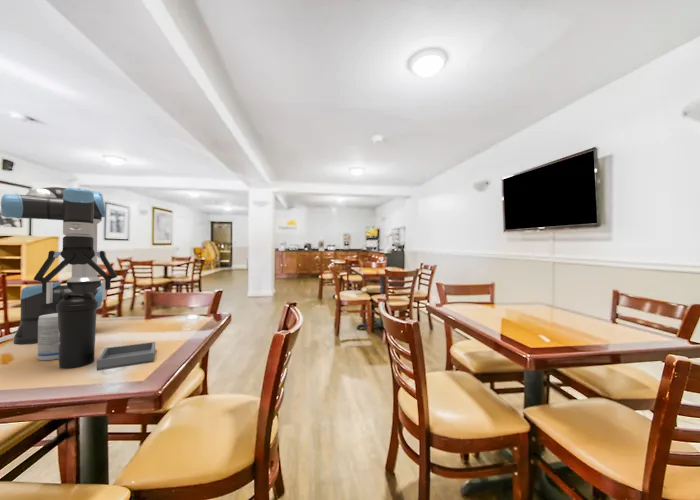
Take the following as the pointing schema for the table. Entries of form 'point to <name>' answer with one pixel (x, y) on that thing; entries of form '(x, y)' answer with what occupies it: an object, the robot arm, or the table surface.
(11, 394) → the table surface
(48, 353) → the supplement tub
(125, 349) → the tray
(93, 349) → the water bottle
